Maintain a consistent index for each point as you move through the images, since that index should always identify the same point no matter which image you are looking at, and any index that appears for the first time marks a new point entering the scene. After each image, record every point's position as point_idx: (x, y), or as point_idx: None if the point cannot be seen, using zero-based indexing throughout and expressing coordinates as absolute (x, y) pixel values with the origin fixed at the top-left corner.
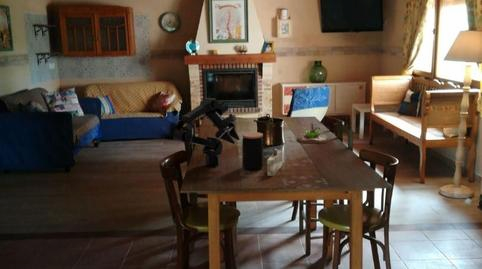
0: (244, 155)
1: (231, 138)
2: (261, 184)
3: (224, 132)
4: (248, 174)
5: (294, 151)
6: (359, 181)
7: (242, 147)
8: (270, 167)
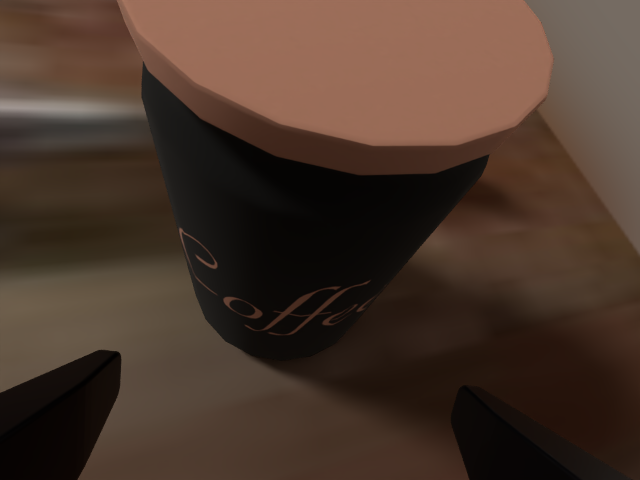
0: (384, 287)
1: (607, 465)
2: (559, 200)
3: None
4: (437, 287)
5: None
6: None
7: (365, 284)
8: None
